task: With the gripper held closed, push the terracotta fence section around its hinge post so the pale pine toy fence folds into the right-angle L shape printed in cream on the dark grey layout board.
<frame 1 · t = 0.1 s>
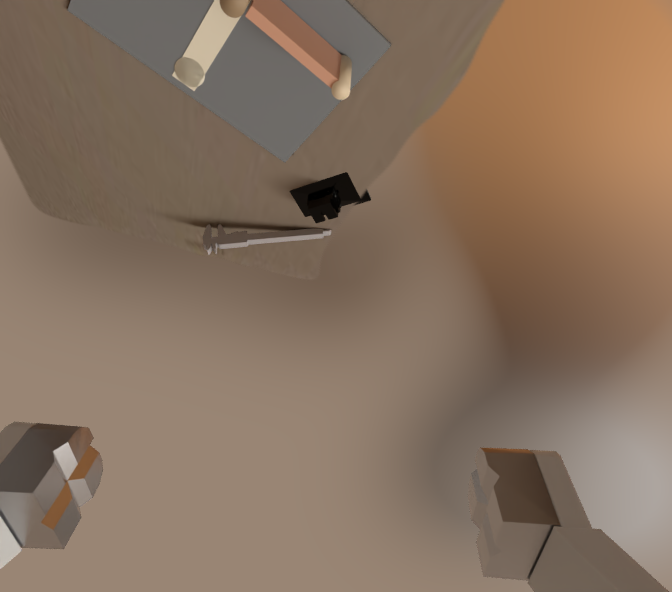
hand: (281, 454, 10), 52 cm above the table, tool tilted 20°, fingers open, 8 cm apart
layout board: (231, 26, 52), on the table
caliper: (269, 226, 76), on the table
fence panel: (304, 43, 49), point 4 cm above the table, hinge at 0.0°
black angular piece: (325, 192, 70), on the table
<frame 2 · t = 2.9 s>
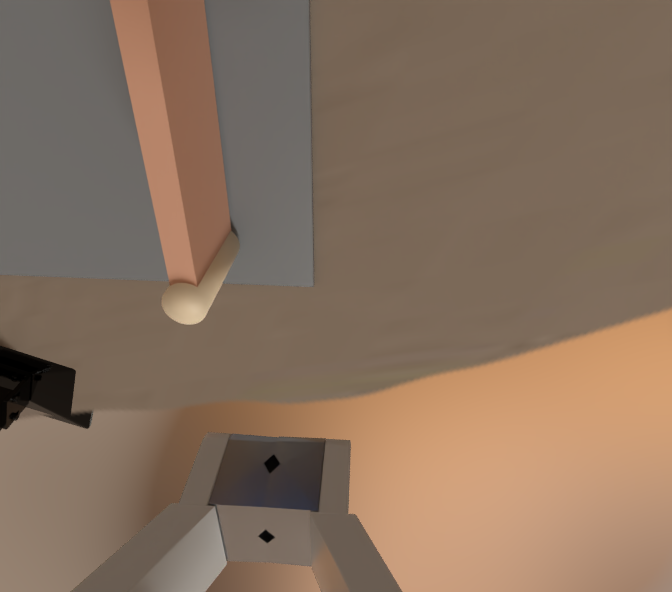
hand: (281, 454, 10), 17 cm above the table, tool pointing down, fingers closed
fence panel: (188, 162, 20), point 4 cm above the table, hinge at 0.0°
black angular piece: (11, 368, 34), on the table
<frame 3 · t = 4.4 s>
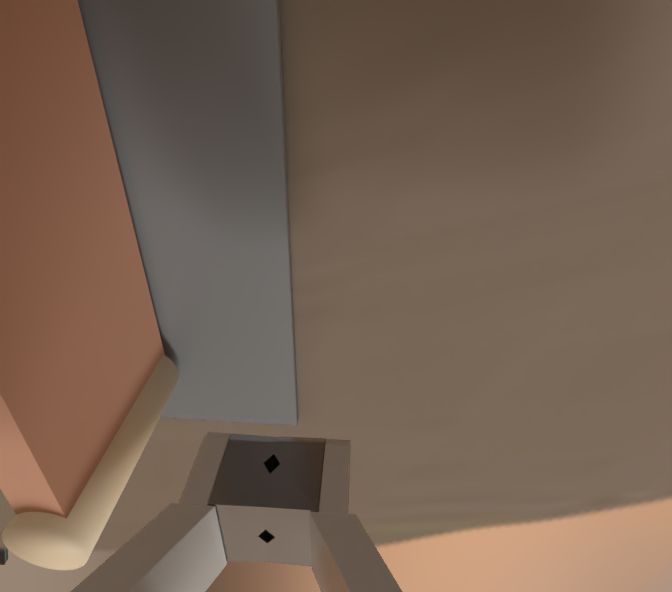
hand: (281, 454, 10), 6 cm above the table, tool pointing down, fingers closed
fence panel: (49, 286, 11), point 4 cm above the table, hinge at 0.0°
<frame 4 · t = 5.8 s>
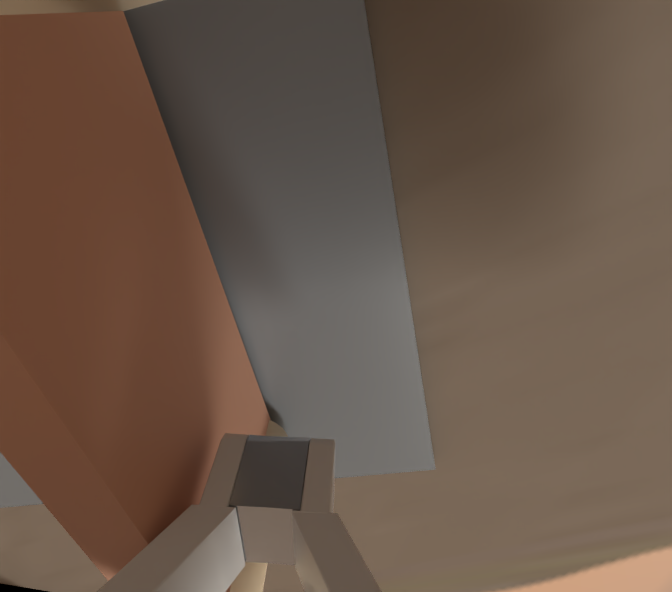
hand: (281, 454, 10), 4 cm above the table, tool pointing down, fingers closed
fence panel: (157, 380, 9), point 4 cm above the table, hinge at 1.8°, touching gripper
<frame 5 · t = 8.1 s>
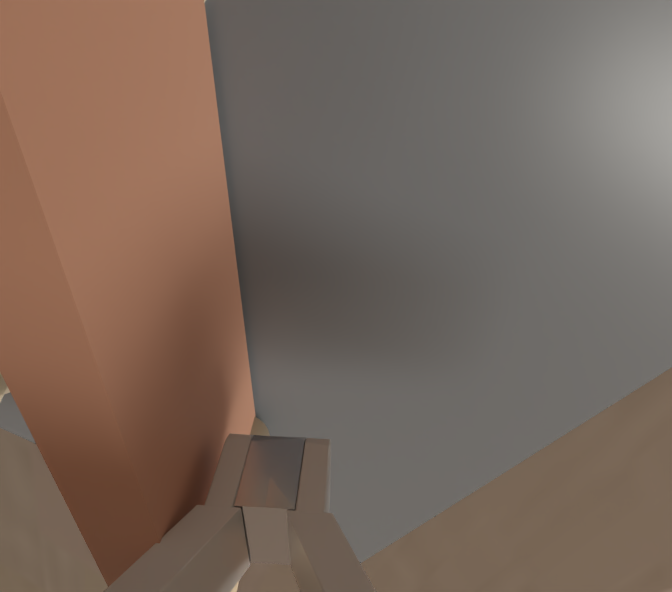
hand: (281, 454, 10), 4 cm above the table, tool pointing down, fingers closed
layout board: (111, 169, 11), on the table
fence panel: (172, 367, 9), point 4 cm above the table, hinge at 52.9°, touching gripper
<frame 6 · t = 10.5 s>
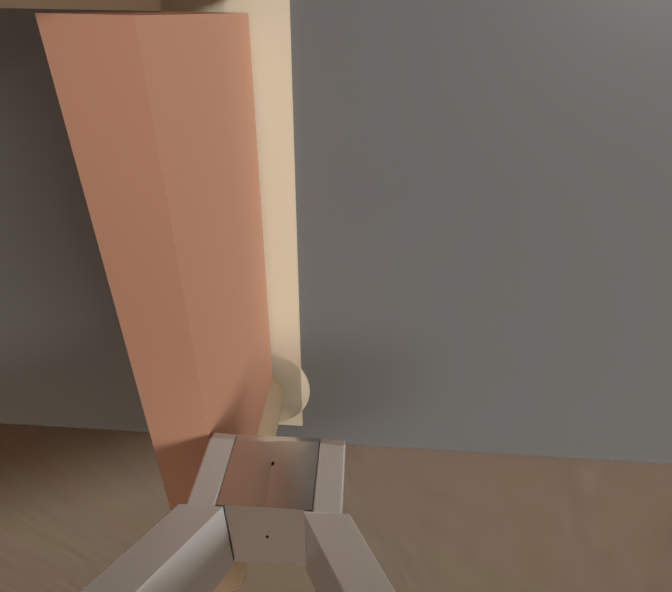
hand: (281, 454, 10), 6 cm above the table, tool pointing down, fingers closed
layout board: (288, 177, 13), on the table
fence panel: (215, 320, 11), point 4 cm above the table, hinge at 90.3°, touching gripper
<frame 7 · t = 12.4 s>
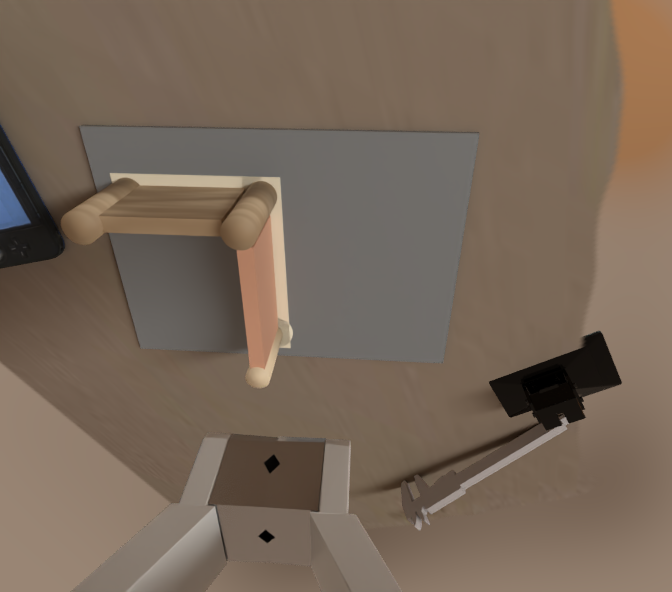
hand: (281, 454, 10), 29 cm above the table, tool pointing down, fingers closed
layout board: (283, 256, 40), on the table
caliper: (480, 447, 51), on the table
fence panel: (260, 303, 38), point 4 cm above the table, hinge at 90.4°
fixed fence: (263, 193, 37), resting on layout board
black angular piece: (544, 378, 45), on the table
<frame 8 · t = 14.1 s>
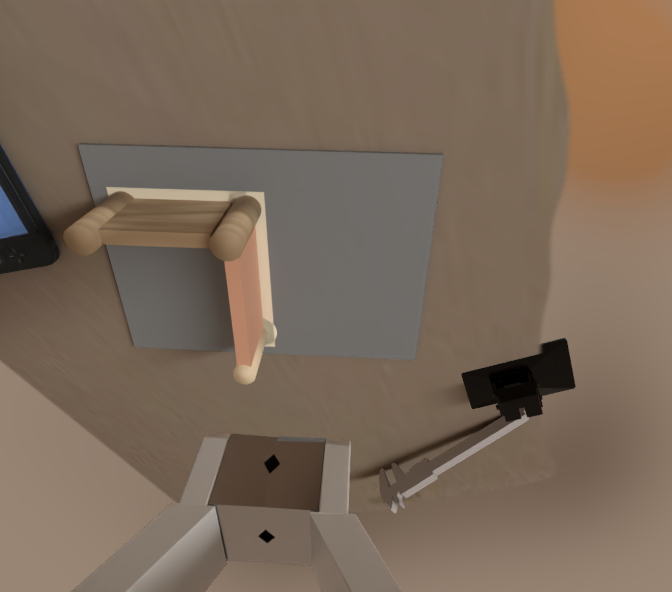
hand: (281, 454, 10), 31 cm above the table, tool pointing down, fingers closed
layout board: (267, 263, 43), on the table
caliper: (452, 437, 55), on the table
fence panel: (246, 306, 41), point 4 cm above the table, hinge at 90.4°
fixed fence: (248, 206, 40), resting on layout board
black angular piece: (509, 376, 50), on the table
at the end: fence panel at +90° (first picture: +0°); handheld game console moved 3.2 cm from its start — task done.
